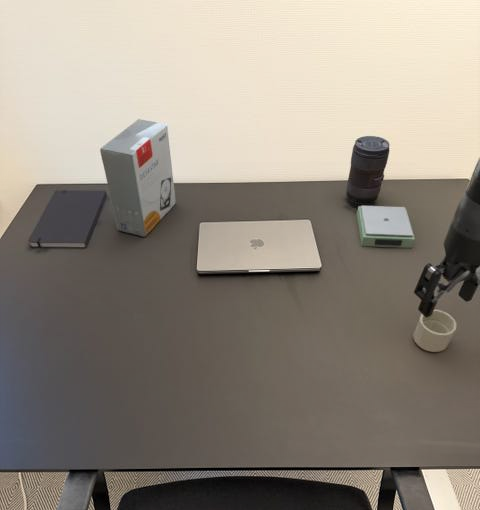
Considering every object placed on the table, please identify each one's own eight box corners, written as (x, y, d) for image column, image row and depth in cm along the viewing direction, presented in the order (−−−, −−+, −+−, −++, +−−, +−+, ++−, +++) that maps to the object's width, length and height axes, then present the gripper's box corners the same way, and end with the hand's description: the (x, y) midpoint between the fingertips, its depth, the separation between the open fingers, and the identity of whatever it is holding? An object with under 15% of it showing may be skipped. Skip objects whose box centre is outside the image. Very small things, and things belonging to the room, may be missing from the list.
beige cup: (443, 329, 86) (452, 310, 83) (450, 354, 82) (460, 335, 78) (410, 327, 87) (417, 308, 83) (415, 352, 82) (423, 333, 79)
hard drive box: (146, 238, 106) (130, 155, 91) (116, 231, 108) (96, 148, 93) (177, 202, 116) (167, 122, 101) (150, 196, 118) (136, 117, 103)
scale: (403, 216, 111) (406, 205, 109) (412, 248, 102) (416, 237, 100) (356, 214, 112) (358, 203, 109) (361, 246, 103) (364, 235, 101)
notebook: (86, 248, 104) (107, 195, 118) (84, 242, 102) (105, 190, 117) (29, 247, 104) (57, 195, 118) (27, 242, 103) (55, 190, 117)
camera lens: (373, 191, 118) (386, 134, 107) (380, 210, 113) (395, 151, 102) (341, 192, 118) (351, 134, 107) (347, 210, 113) (358, 151, 102)
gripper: (461, 252, 62) (426, 334, 73) (538, 225, 66) (493, 307, 78) (423, 222, 66) (395, 304, 78) (497, 199, 70) (460, 279, 82)
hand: (444, 305), depth 78 cm, fingers open, 8 cm apart
